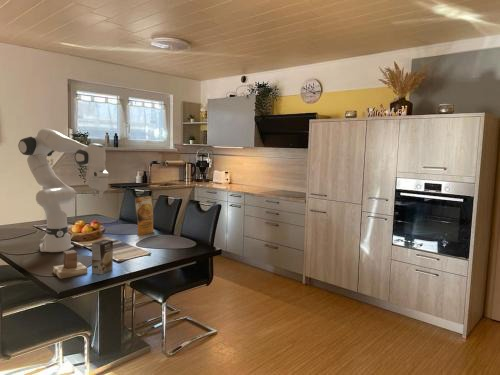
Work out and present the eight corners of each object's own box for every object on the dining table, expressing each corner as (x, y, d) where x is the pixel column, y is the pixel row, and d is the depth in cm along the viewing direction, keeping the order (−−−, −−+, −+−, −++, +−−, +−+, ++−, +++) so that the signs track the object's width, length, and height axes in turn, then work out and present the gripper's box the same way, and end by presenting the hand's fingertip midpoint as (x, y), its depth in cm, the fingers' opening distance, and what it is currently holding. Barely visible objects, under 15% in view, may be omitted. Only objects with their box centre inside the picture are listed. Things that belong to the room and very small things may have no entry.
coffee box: (101, 274, 192) (101, 244, 191) (91, 273, 194) (91, 243, 192) (113, 269, 201) (113, 240, 199) (103, 267, 203) (103, 239, 201)
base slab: (53, 271, 193) (53, 266, 193) (79, 267, 202) (79, 261, 202) (60, 278, 185) (60, 272, 184) (87, 273, 193) (87, 267, 193)
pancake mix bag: (131, 234, 274) (131, 197, 271) (150, 230, 291) (150, 194, 287) (138, 236, 271) (138, 198, 268) (156, 231, 287) (157, 195, 284)
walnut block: (63, 266, 193) (63, 251, 192) (73, 264, 197) (73, 249, 196) (66, 269, 190) (66, 253, 189) (77, 267, 193) (76, 252, 192)
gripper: (84, 171, 215) (85, 194, 217) (98, 174, 200) (98, 199, 202) (96, 170, 219) (96, 193, 221) (110, 173, 204) (110, 198, 206)
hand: (97, 196), depth 211 cm, fingers open, 8 cm apart
